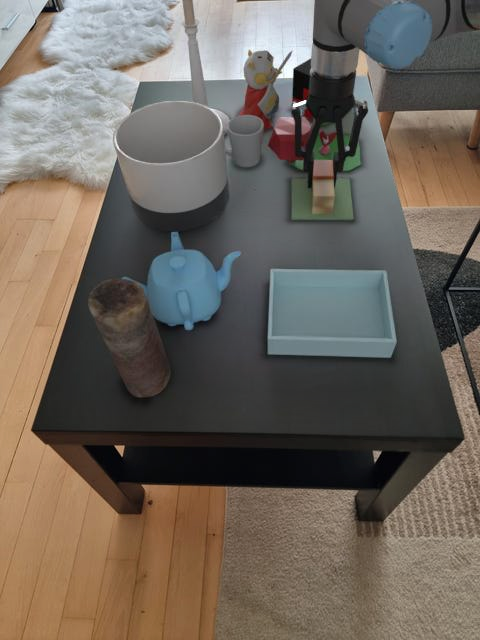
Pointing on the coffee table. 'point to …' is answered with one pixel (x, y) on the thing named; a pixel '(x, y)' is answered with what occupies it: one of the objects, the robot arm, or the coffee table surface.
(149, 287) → the teapot
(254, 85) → the figurine
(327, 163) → the terracotta piece
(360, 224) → the coffee table surface
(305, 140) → the low-poly diorama
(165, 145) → the planter
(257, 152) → the cup
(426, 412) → the coffee table surface
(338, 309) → the box
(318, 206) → the birch piece
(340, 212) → the mat
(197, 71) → the candlestick
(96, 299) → the candle
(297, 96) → the puzzle toy
